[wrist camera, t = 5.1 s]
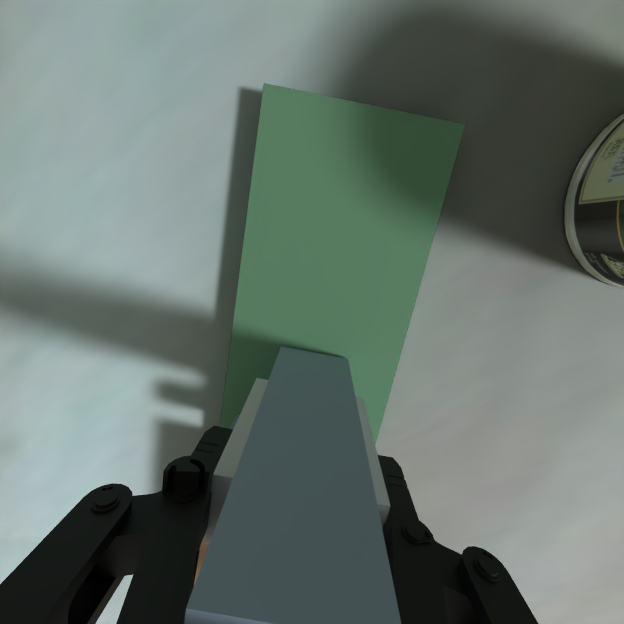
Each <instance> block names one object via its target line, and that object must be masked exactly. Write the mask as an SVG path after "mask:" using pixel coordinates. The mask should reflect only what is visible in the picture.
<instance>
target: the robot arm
mask: <svg viewBox="0 0 624 624" xmlns="http://www.w3.org/2000/svg"><path fill="white" fill-rule="evenodd" d="M268 381H269V380H265V379H260V378H256V381H255V383H254V385H253V387H252V389H251V392H250V394H249V396H248V398H247V400H246V403H245V405H244V407H243V409H242V411H241V414H240V416H239V418H238V420H237V422H236V425H235V427H234V429H229V428H223V427H218V426H213V427H212V428H210V429H209V430H208V431H206V432H205V433H204V435H203V436H202V438H201V440H200V442H199V443H198V445H197V447H196V448H195V451H194V452H193V453H192V455H191V456H185V457H181V458H178V459H175V460H174V461H172V462H171V463H169V464H168V465H167V467H166V468H165V470H164V475H163V487H162V491H160V492H157V493H153V494H148V495H138V496H132V491H131V490H130V489H129V487H127V486H125V485H122V484H108V485H104V486H101V487H99V488H96V489H94V490H92V491H91V492H90V493H88V494H87V495H86V496H85V497H83V499H82V500H81V501H80V502H79V503H78V504H77V505H76V506H75V507H74V508H73V509H72V510H71V511H70V512H69V513H68V514H67V515H66V516H65V517H64V518H63V519H62V520H61V522H60V523H59V524H58V525H57V526H56V527H55V528H54V529H53V530H52V531H51V532H50V533H49V534H48V535H47V536H46V537H45V538H44V539H43V540H42V541H41V542H40V543H39V545H38V546H37V547H36V548H35V549H34V550H33V551H32V552H31V553H30V554H29V555H28V556H27V557H26V558H25V559H24V560H23V561H22V562H21V563H20V564H19V565H18V566H17V568H16V569H15V570H14V571H13V572H12V573H11V574H10V575H9V576H8V577H7V578H6V579H5V580H4V581H3V582H2V583H1V584H0V624H95V623H96V621H97V620H98V618H99V617H100V615H101V613H102V612H103V610H104V608H105V607H106V605H107V604H108V602H109V600H110V599H111V597H112V595H113V594H114V592H115V590H116V589H117V587H118V586H119V584H120V582H121V581H122V579H123V577H124V576H126V575H132V574H134V575H133V578H132V581H131V583H130V586H129V589H128V592H127V595H126V598H125V601H124V603H123V606H122V609H121V612H120V615H119V618H118V621H117V624H184V622H185V614H186V607H187V605H188V602H189V599H190V596H191V594H192V591H193V588H194V582H195V576H196V570H197V564H198V559H199V551H200V546H201V543H202V540H203V538H204V535H205V539H204V543H206V544H210V541H211V538H212V535H213V533H214V530H215V527H216V524H217V522H218V519H219V516H220V513H221V511H222V508H223V505H224V502H225V500H226V497H227V494H228V491H229V488H230V486H231V483H232V480H233V477H234V475H235V472H236V469H237V466H238V464H239V461H240V458H241V455H242V452H243V450H244V447H245V444H246V441H247V439H248V436H249V433H250V430H251V428H252V425H253V422H254V419H255V417H256V414H257V411H258V408H259V405H260V403H261V400H262V397H263V394H264V392H265V389H266V386H267V383H268ZM356 401H357V406H358V411H359V416H360V421H361V426H362V431H363V436H364V441H365V446H366V451H367V456H368V461H369V466H370V471H371V476H372V481H373V486H374V491H375V496H376V501H377V505H378V510H379V515H380V520H381V525H382V530H383V535H384V540H385V545H386V550H387V555H388V560H389V565H390V570H391V575H392V580H393V585H394V590H395V595H396V600H397V605H398V609H399V614H400V619H401V624H538V622H537V621H536V619H535V617H534V616H533V614H532V612H531V610H530V609H529V607H528V605H527V604H526V602H525V600H524V598H523V597H522V595H521V593H520V592H519V590H518V588H517V586H516V585H515V583H514V581H513V580H512V578H511V576H510V574H509V573H508V571H507V570H506V568H505V567H504V566H503V564H502V563H501V562H500V561H499V560H498V559H497V558H496V557H495V556H493V555H492V554H491V553H489V552H487V551H486V550H484V549H482V548H478V547H475V546H473V547H467V548H466V549H465V550H464V551H463V553H462V555H461V554H459V553H457V552H455V551H453V550H451V549H449V548H447V547H444V546H443V545H441V544H439V543H437V542H436V541H435V540H434V538H433V535H432V533H431V532H430V530H429V529H428V528H427V527H426V526H425V525H424V524H423V523H422V522H421V521H419V519H418V516H417V513H416V510H415V507H414V505H413V502H412V499H411V496H410V493H409V490H408V489H407V484H406V481H405V480H404V475H403V472H402V469H401V467H400V466H399V465H398V463H397V462H396V461H395V460H394V458H391V457H386V456H381V455H377V451H376V447H375V443H374V439H373V435H372V431H371V428H370V424H369V420H368V416H367V412H366V408H365V404H364V400H363V398H362V397H356Z"/></svg>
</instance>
